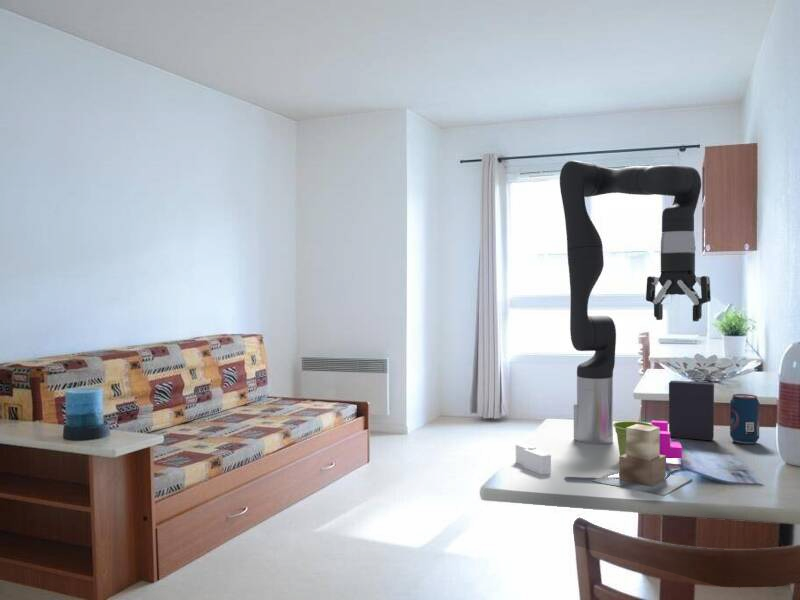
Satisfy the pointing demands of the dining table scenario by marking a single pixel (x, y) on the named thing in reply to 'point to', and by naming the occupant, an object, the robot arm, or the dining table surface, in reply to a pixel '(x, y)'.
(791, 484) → the dining table surface
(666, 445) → the toy block
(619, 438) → the plant pot
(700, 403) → the dark grey box
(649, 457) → the maple brick
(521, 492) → the dining table surface
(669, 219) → the robot arm
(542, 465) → the napkin holder
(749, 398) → the soda can
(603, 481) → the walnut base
